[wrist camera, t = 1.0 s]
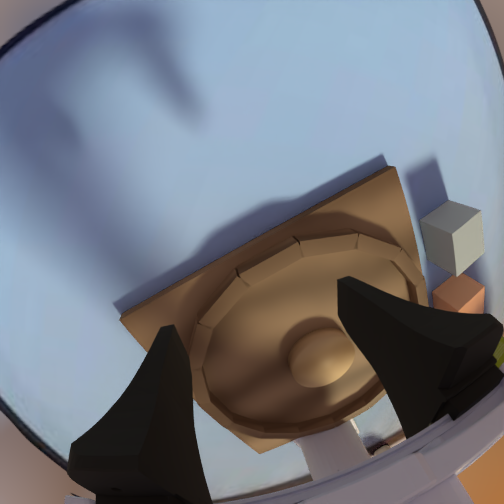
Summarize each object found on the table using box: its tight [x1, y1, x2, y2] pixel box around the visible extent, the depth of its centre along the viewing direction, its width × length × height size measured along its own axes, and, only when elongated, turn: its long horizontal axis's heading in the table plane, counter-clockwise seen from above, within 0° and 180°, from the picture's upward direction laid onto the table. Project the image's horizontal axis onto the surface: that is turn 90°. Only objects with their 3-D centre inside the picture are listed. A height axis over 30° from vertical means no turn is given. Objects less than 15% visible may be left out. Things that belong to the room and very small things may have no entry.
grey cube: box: [419, 200, 484, 277], centre depth 22 cm, size 5×5×5 cm
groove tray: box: [120, 166, 429, 454], centre depth 25 cm, size 25×25×2 cm
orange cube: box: [432, 273, 485, 314], centre depth 26 cm, size 5×5×5 cm
